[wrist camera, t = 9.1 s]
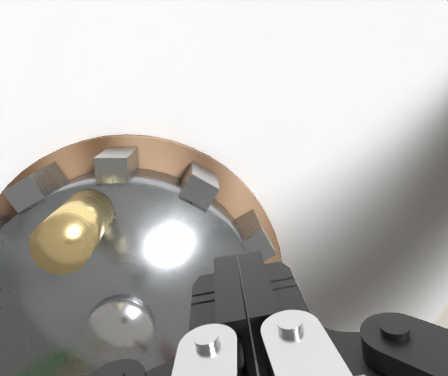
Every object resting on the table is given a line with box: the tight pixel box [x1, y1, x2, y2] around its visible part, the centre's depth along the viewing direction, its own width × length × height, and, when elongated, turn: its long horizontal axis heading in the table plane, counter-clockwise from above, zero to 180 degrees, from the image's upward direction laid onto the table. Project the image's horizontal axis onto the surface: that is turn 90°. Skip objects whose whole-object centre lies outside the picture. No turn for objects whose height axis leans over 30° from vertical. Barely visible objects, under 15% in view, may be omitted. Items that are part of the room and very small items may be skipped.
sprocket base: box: [0, 134, 282, 264], centre depth 24 cm, size 22×25×11 cm
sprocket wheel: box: [0, 146, 277, 376], centre depth 23 cm, size 21×21×9 cm
